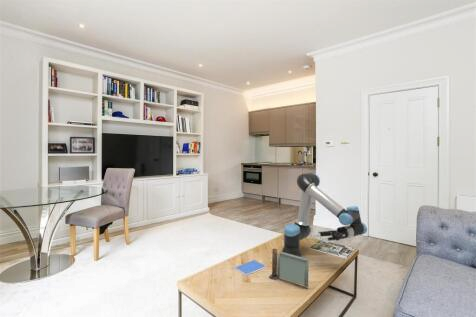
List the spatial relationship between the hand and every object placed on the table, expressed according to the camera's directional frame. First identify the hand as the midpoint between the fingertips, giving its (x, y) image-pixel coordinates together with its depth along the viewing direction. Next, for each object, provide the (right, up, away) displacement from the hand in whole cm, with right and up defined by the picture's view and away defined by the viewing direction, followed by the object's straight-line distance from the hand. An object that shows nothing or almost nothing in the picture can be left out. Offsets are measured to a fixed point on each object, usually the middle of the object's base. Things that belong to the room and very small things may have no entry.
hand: (317, 238), depth 156 cm
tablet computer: (-43, -24, +9) cm, 50 cm away
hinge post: (-29, -24, -4) cm, 37 cm away
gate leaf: (-19, -23, -10) cm, 31 cm away
